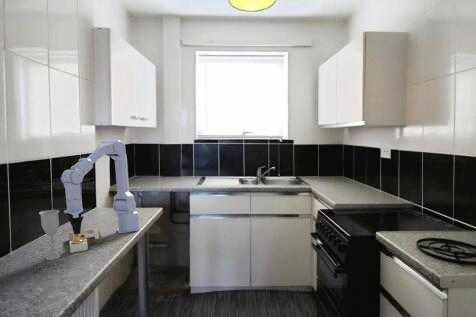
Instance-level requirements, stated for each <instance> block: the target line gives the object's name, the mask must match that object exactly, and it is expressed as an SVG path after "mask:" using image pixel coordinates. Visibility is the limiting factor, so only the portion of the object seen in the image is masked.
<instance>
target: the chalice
mask: <svg viewBox="0 0 476 317" xmlns="http://www.w3.org/2000/svg"><path fill="white" fill-rule="evenodd" d="M59 213H60V210H59V209H51V210H50V209H48V210H43V211H40V212H38V214H39V216H40V221H41V228H42V230H43V232H44V233H45V234H46V236H49V238H50V239H49V242H50V245H49V246H50V248H51V249H50V251H49V252H48V253H47V255H46V259H45V260H47V261H53V260H57V259H60V258H62V257H61V256H62V255H61V254H60V253H59V251H58V250H56V249H55V245H56V244H55V242H54V241H55V239H54V236H55V235H56V233H57V231H58V229H59V225H60V219H59Z"/></svg>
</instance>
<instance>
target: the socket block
mask: <svg viewBox="0 0 476 317" xmlns="http://www.w3.org/2000/svg"><path fill="white" fill-rule="evenodd" d="M97 231H98V234H99V238H98V239H95V237H87V238H85V235H86V234H92V233H93V229H89V230H82V231H81V239H87V245H88V246H89V245H95V244H100V243H102V234H101V232H100V229H99V228H97ZM72 240H73V232H70V233H68V241H69V243H70V241H72Z"/></svg>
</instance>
